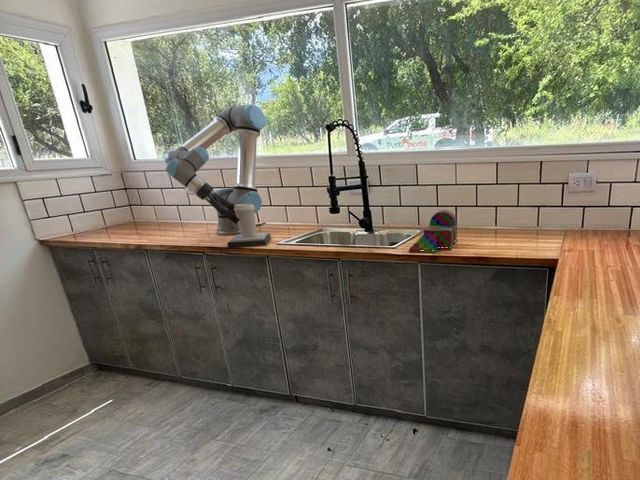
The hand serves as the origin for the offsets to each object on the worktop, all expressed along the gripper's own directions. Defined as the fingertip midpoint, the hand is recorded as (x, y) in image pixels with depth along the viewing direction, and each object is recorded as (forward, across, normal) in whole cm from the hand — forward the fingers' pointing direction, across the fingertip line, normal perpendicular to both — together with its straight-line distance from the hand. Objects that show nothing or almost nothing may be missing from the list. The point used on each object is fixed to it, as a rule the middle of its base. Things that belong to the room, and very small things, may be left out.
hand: (240, 219), depth 212 cm
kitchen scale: (+10, 0, -6) cm, 12 cm away
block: (+69, +35, +53) cm, 94 cm away
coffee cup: (+8, 0, -4) cm, 9 cm away
